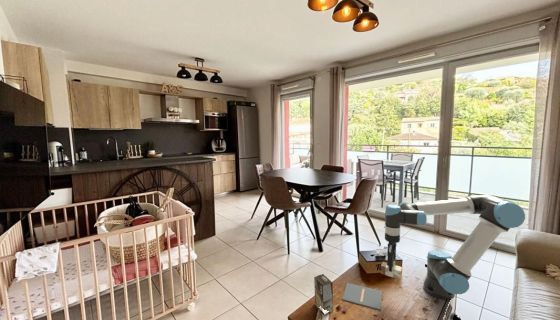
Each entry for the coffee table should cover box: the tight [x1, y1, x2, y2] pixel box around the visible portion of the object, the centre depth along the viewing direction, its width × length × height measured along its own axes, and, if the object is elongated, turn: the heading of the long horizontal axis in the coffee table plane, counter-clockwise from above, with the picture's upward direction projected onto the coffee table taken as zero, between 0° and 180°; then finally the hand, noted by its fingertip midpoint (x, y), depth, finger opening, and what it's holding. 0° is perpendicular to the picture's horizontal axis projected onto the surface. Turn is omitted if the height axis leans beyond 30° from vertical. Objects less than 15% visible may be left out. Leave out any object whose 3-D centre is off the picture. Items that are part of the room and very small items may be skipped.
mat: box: [341, 282, 383, 311], centre depth 132 cm, size 20×16×1 cm
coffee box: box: [313, 273, 334, 313], centre depth 123 cm, size 9×6×16 cm
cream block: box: [380, 261, 403, 280], centre depth 127 cm, size 10×5×4 cm, turn 55°
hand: (391, 273), depth 127 cm, fingers closed on cream block, 5 cm apart
